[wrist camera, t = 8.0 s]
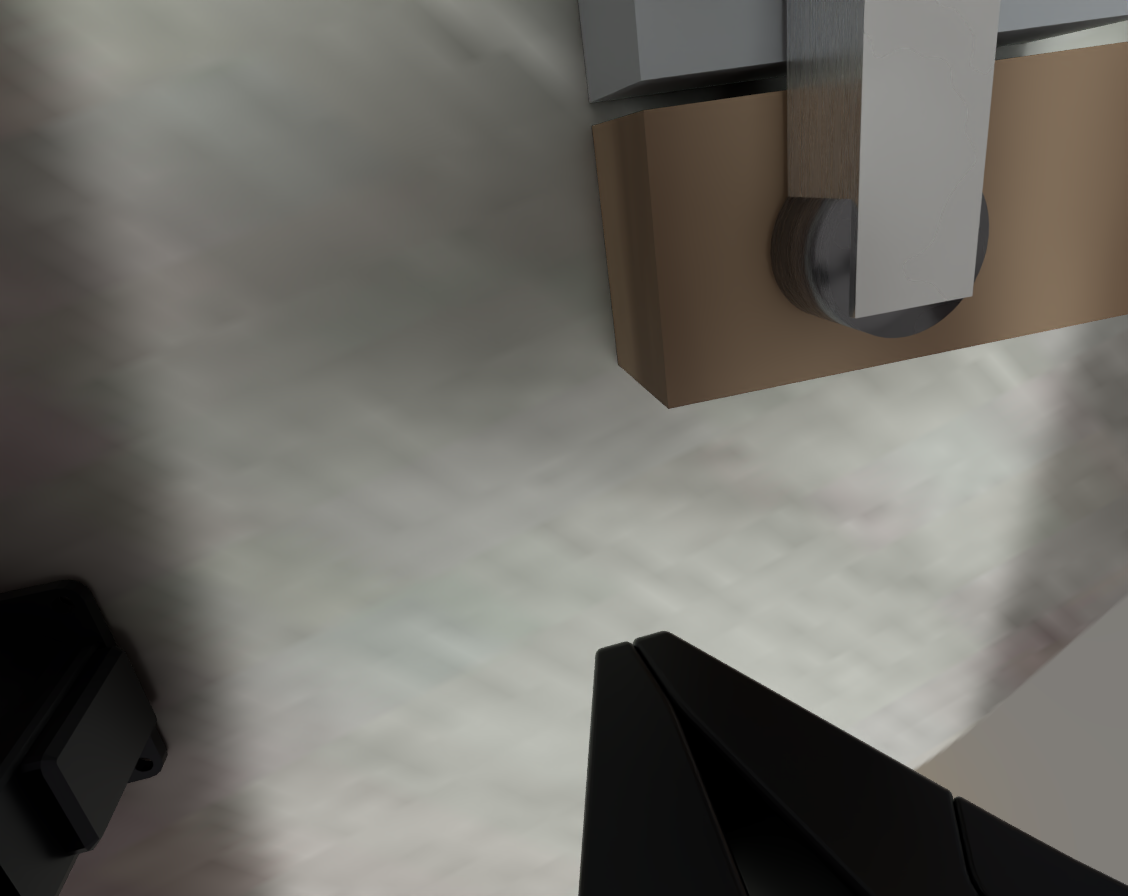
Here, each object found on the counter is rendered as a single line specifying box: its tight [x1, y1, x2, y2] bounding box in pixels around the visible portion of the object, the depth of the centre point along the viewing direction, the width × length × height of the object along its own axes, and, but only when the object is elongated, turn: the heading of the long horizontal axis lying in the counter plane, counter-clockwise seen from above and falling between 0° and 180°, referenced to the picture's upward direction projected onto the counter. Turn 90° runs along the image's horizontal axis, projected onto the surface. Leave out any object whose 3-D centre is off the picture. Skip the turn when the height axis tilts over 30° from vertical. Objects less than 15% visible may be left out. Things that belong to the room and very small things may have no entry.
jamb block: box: [592, 42, 1128, 409], centre depth 17 cm, size 12×6×4 cm, turn 97°
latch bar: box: [770, 0, 1001, 338], centre depth 12 cm, size 11×3×2 cm, turn 7°
